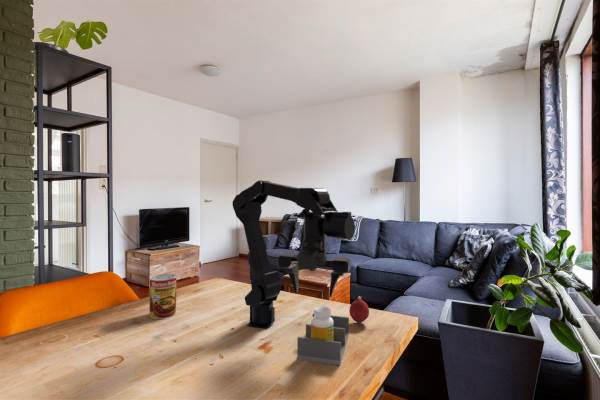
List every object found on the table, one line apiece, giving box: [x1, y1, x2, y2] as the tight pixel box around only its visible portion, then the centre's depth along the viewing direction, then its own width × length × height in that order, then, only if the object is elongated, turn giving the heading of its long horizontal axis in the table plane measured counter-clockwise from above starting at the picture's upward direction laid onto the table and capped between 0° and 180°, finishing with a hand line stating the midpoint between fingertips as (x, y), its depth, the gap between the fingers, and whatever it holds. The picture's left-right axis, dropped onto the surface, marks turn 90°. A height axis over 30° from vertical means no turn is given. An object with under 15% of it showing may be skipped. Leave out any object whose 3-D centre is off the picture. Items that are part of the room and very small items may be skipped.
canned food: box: [148, 273, 177, 320], centre depth 100 cm, size 8×8×12 cm
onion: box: [348, 296, 370, 325], centre depth 94 cm, size 6×6×8 cm
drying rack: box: [296, 313, 350, 366], centre depth 79 cm, size 10×16×5 cm, turn 164°
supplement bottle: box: [310, 306, 334, 341], centre depth 75 cm, size 5×5×10 cm
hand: (313, 294), depth 83 cm, fingers open, 9 cm apart
